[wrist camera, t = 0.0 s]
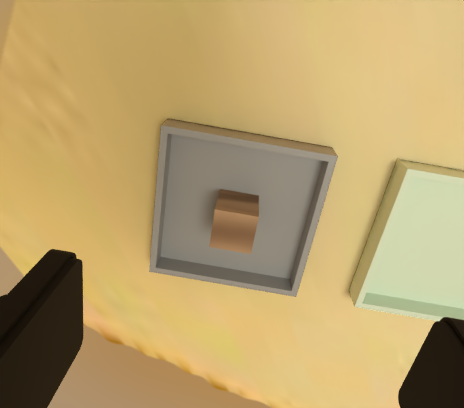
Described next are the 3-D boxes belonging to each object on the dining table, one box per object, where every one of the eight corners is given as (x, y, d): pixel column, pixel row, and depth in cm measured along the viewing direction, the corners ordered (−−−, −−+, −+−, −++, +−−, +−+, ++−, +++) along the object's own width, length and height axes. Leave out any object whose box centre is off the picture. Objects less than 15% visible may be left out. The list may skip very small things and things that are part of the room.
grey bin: (168, 118, 45) (161, 125, 42) (332, 147, 45) (337, 156, 42) (155, 257, 53) (149, 271, 50) (294, 281, 54) (296, 296, 50)
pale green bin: (397, 158, 45) (407, 168, 42) (559, 187, 45) (582, 199, 42) (348, 290, 54) (354, 306, 50) (485, 314, 54) (499, 331, 51)
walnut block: (219, 188, 47) (214, 209, 42) (258, 195, 47) (258, 216, 42) (214, 223, 50) (209, 246, 44) (251, 229, 50) (250, 254, 44)
